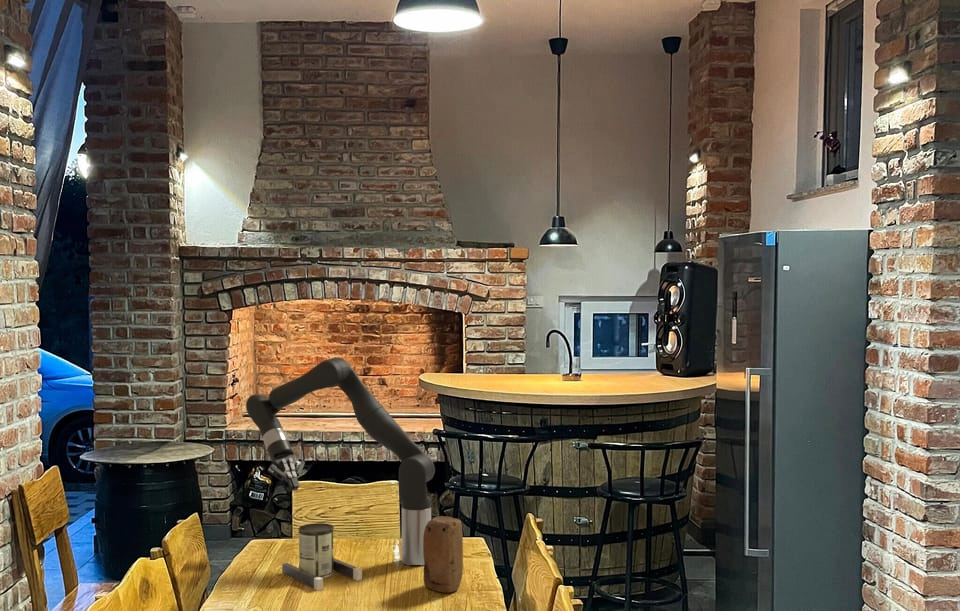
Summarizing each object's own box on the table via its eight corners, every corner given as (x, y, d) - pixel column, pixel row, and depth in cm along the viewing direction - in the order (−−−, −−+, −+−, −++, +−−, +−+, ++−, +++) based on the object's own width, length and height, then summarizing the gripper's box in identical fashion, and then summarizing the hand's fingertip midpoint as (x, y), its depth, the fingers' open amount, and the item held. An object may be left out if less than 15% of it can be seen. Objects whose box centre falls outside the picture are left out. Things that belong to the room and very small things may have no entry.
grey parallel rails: (325, 564, 271) (325, 554, 271) (361, 579, 256) (361, 569, 256) (282, 573, 261) (282, 563, 261) (317, 590, 246) (317, 579, 246)
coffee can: (309, 567, 268) (309, 521, 267) (339, 571, 264) (339, 524, 264) (291, 577, 258) (291, 530, 258) (322, 581, 254) (322, 533, 254)
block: (465, 588, 248) (465, 518, 248) (450, 596, 242) (450, 524, 242) (434, 581, 254) (434, 513, 254) (418, 589, 248) (419, 518, 248)
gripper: (263, 440, 281) (281, 485, 272) (299, 436, 289) (318, 479, 280) (255, 454, 285) (272, 498, 276) (291, 450, 293) (309, 493, 284)
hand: (295, 489), depth 278 cm, fingers closed
